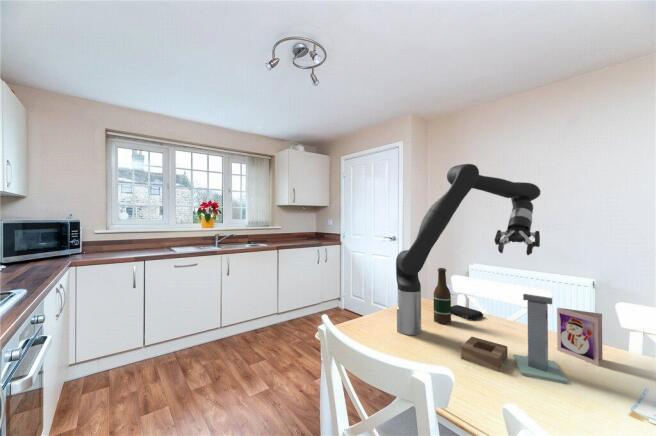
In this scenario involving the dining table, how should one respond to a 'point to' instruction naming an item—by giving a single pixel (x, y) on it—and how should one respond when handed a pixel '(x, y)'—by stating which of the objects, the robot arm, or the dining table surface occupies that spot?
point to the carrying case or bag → (466, 312)
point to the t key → (537, 331)
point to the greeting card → (580, 334)
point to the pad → (551, 373)
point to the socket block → (484, 353)
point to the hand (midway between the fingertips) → (514, 252)
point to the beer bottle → (442, 299)
